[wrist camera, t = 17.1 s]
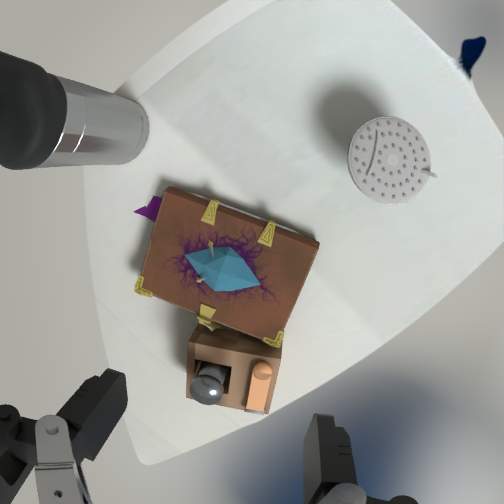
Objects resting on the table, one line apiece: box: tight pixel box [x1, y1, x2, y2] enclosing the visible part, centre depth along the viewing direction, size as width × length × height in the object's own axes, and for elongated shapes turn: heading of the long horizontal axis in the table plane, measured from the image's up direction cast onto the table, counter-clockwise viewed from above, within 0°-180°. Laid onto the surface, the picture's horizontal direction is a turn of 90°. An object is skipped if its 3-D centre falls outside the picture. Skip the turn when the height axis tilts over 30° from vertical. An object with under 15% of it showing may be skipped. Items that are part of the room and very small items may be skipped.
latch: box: [244, 362, 272, 415], centre depth 39 cm, size 3×9×1 cm, turn 173°
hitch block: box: [186, 324, 283, 414], centre depth 42 cm, size 12×10×5 cm
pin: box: [189, 361, 229, 405], centre depth 41 cm, size 4×4×9 cm
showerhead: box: [347, 116, 437, 205], centre depth 32 cm, size 9×7×10 cm
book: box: [134, 187, 320, 348], centre depth 40 cm, size 16×25×5 cm, turn 70°
